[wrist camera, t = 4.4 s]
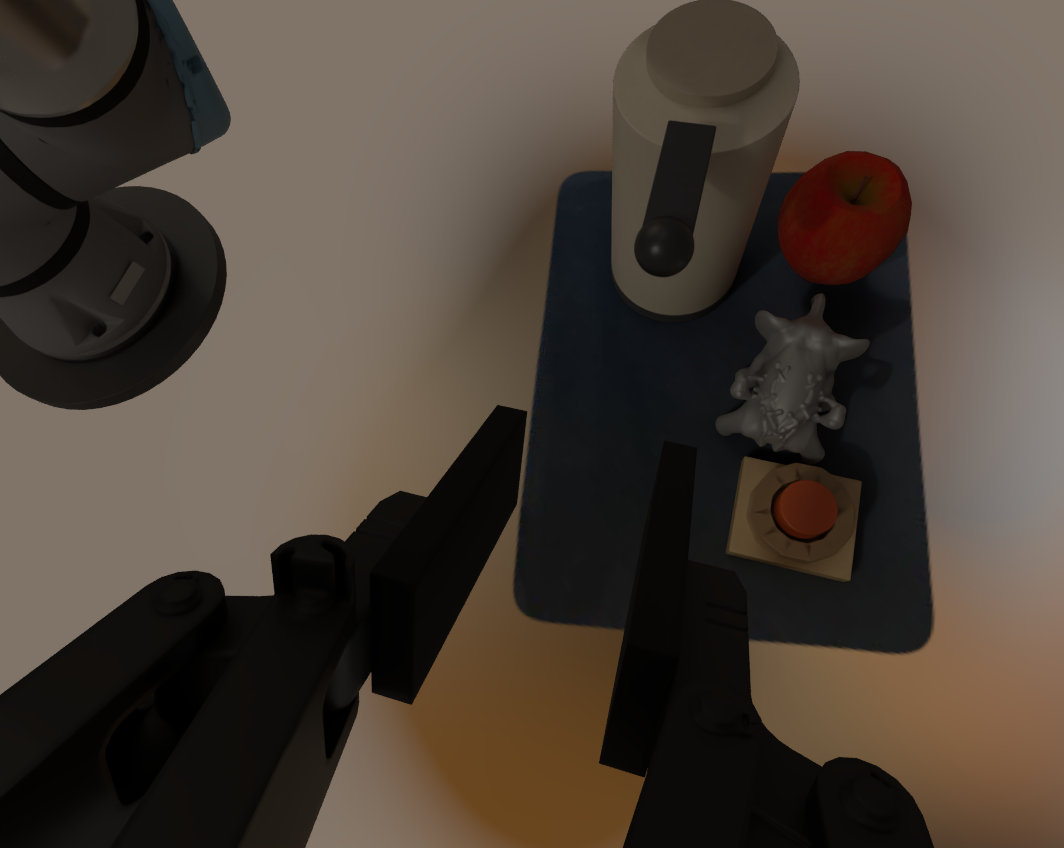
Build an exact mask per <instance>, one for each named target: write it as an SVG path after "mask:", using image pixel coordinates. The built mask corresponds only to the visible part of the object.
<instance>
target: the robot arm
mask: <svg viewBox="0 0 1064 848" xmlns="http://www.w3.org/2000/svg"><path fill="white" fill-rule="evenodd" d="M230 121H231V117H230V112H229V110H228V107H227V105H226V103H225V101H224V99H223V97H222V95H221V93H220V91H219V89H218V87H217V85H216V83H215V81H214V79H213V77H212V75H211V73H210V71H209V69H208V67H207V65H206V63H205V61H204V59H203V58H202V55H201V54H200V52H199V50H198V48H197V46H196V44H195V42H194V40H193V38H192V36H191V34H190V32H189V31H188V28H187V27H186V25H185V23H184V21H183V19H182V17H181V15H180V13H179V11H178V10H177V8H176V6H175V4H174V2H173V0H0V318H1V319H2V320H3V321H4V322H5V324H6V325H7V326H8V327H9V328H10V329H11V330H12V331H13V332H14V334H15V335H16V336H17V337H18V338H19V339H21V340H22V341H23V342H24V343H26V344H27V345H28V346H29V347H31V348H33V349H34V350H36V351H38V352H40V353H42V354H44V355H46V356H48V357H50V358H52V359H55V360H58V361H61V362H67V363H88V362H94V361H99V360H102V359H105V358H108V357H111V356H113V355H116V354H118V353H120V352H122V351H124V350H125V349H127V348H129V347H130V346H132V345H133V344H134V343H136V342H137V341H139V340H140V339H141V338H142V337H143V336H145V335H146V334H147V333H148V332H149V331H150V330H151V329H152V328H153V326H154V325H155V324H156V323H157V322H158V320H159V319H160V318H161V317H162V315H163V313H164V312H165V310H166V309H167V307H168V305H169V303H170V301H171V298H172V296H173V293H174V290H175V286H176V282H177V259H176V255H175V252H174V249H173V247H172V245H171V243H170V242H169V240H168V239H167V238H166V237H165V235H164V234H163V233H162V232H161V231H159V230H158V229H157V228H156V227H155V226H154V225H153V224H152V223H151V222H149V221H148V220H147V219H145V218H144V217H142V216H140V215H138V214H137V213H135V212H133V211H131V210H128V209H126V208H124V207H122V206H119V205H117V204H115V203H112V202H110V201H108V200H105V199H103V198H101V197H99V196H98V195H100V194H102V193H104V192H107V191H109V190H111V189H113V188H115V187H117V186H119V185H121V184H123V183H125V182H128V181H130V180H132V179H134V178H136V177H139V176H141V175H143V174H145V173H147V172H149V171H151V170H154V169H156V168H158V167H160V166H162V165H164V164H166V163H169V162H171V161H173V160H175V159H178V158H180V157H182V156H184V155H187V154H189V153H190V154H195V153H197V152H199V150H200V149H201V147H202V146H204V145H206V144H208V143H210V142H212V141H213V140H215V139H217V138H219V137H221V136H222V135H224V134H225V133H226V132H227V130H228V128H229V126H230ZM526 418H527V411H523V410H519V409H514V408H509V407H505V406H500V405H497V406H496V408H495V409H494V410H493V412H492V413H491V414H490V416H489V417H488V418H487V419H486V421H485V422H484V423H483V425H482V426H481V427H480V429H479V430H478V431H477V433H476V434H475V435H474V437H473V438H472V439H471V441H470V442H469V443H468V444H467V446H466V447H465V448H464V450H463V451H462V452H461V454H460V455H459V457H457V459H456V460H455V461H454V463H453V464H452V465H451V467H450V468H449V469H448V471H447V472H446V473H445V475H444V476H443V477H442V478H441V480H440V481H439V482H438V484H437V485H436V486H435V488H434V489H433V490H432V492H431V493H430V494H429V496H428V497H423V496H419V495H415V494H411V493H407V492H403V491H399V492H397V493H395V494H393V495H391V496H390V497H388V498H386V499H384V500H382V501H380V502H379V503H378V505H377V506H376V507H375V508H374V509H373V510H372V511H371V512H370V513H369V515H368V516H367V519H364V520H363V522H362V523H361V524H360V525H359V526H358V527H357V529H356V532H353V533H352V534H351V535H350V536H349V538H348V539H347V540H346V541H345V542H344V541H343V540H341V539H339V538H336V537H332V536H329V535H307V536H302V537H298V538H294V539H292V540H290V541H288V542H286V543H284V544H281V545H280V546H279V547H278V548H277V549H276V550H275V551H274V552H272V553H271V564H272V573H273V583H274V592H275V594H274V595H273V596H225V592H224V588H223V585H222V583H221V581H220V579H218V578H216V577H215V576H213V575H212V574H210V573H205V572H199V571H186V572H177V573H174V574H171V575H167V576H164V577H161V578H159V579H157V580H156V581H154V582H152V583H150V584H149V585H147V586H145V587H144V588H143V589H141V590H140V591H139V592H137V593H136V594H135V595H133V596H132V597H131V598H129V599H128V600H127V601H125V602H124V603H123V604H121V605H120V606H119V607H117V608H116V609H114V610H113V611H112V612H111V613H109V614H108V615H106V616H105V617H104V618H102V619H101V620H100V621H98V622H97V623H96V624H94V625H93V626H92V627H90V628H89V629H88V630H87V631H85V632H84V633H82V634H81V635H80V636H78V637H77V638H76V639H74V640H73V641H72V642H70V643H69V644H68V645H66V646H65V647H64V648H62V649H61V650H60V651H58V652H57V653H56V654H54V655H53V656H52V657H50V658H49V659H48V660H46V661H45V662H44V663H42V664H41V665H40V666H38V667H37V668H36V669H34V670H33V671H31V672H30V673H29V674H28V675H26V676H25V677H23V678H22V679H21V680H20V681H18V682H17V683H16V684H14V685H13V686H11V687H10V688H9V689H7V690H6V691H5V692H3V693H2V694H1V695H0V848H305V847H306V844H307V842H308V839H309V837H310V834H311V831H312V829H313V826H314V823H315V821H316V819H317V816H318V813H319V811H320V808H321V806H322V803H323V801H324V798H325V795H326V793H327V790H328V788H329V785H330V783H331V780H332V777H333V775H334V772H335V770H336V767H337V765H338V762H339V759H340V757H341V755H342V752H343V749H344V747H345V744H346V742H347V739H348V736H349V734H350V731H351V729H352V726H353V724H354V721H355V719H356V716H357V712H358V706H359V690H360V689H361V687H362V685H363V684H364V682H365V681H366V679H367V678H368V676H369V674H370V673H372V693H375V694H378V695H382V696H385V697H388V698H392V699H394V700H398V701H401V702H404V703H407V704H411V705H412V703H413V701H414V699H415V697H416V696H417V694H418V692H419V690H420V688H421V686H422V684H423V682H424V680H425V678H426V676H427V674H428V672H429V671H430V669H431V667H432V665H433V663H434V661H435V659H436V657H437V655H438V653H439V652H440V650H441V648H442V646H443V644H444V642H445V640H446V638H447V636H448V634H449V632H450V631H451V629H452V627H453V625H454V623H455V621H456V619H457V617H458V615H459V613H460V612H461V610H462V608H463V606H464V604H465V602H466V600H467V598H468V596H469V594H470V592H471V590H472V589H473V587H474V585H475V583H476V581H477V579H478V577H479V575H480V573H481V571H482V570H483V568H484V566H485V564H486V562H487V560H488V558H489V556H490V554H491V552H492V550H493V548H494V547H495V545H496V543H497V541H498V539H499V537H500V535H501V533H502V531H503V529H504V527H505V525H506V524H507V522H508V520H509V518H510V516H511V514H512V512H513V510H514V508H515V507H516V505H517V499H518V490H519V481H520V472H521V463H522V454H523V444H524V435H525V427H526ZM696 453H697V448H696V447H692V446H687V445H682V444H678V443H673V442H668V441H664V444H663V448H662V453H661V457H660V462H659V466H658V470H657V475H656V479H655V484H654V488H653V492H652V497H651V501H650V506H649V510H648V514H647V519H646V523H645V528H644V532H643V537H642V542H641V547H640V552H639V558H638V563H637V568H636V573H635V578H634V584H633V589H632V594H631V599H630V604H629V610H628V615H627V620H626V625H625V631H624V636H623V642H622V646H621V652H620V657H619V662H618V667H617V672H616V677H615V683H614V688H613V693H612V698H611V703H610V709H609V714H608V719H607V724H606V729H605V735H604V740H603V745H602V750H601V755H600V761H599V763H600V764H603V765H606V766H610V767H613V768H616V769H619V770H622V771H625V772H629V773H632V774H635V775H638V776H642V777H645V775H646V771H647V775H646V778H645V781H644V784H643V787H642V790H641V793H640V796H639V800H638V803H637V806H636V809H635V812H634V815H633V818H632V821H631V824H630V827H629V830H628V833H627V836H626V839H625V842H624V846H623V848H934V846H933V843H932V840H931V837H930V834H929V831H928V829H927V826H926V823H925V820H924V817H923V815H922V813H921V811H920V809H919V808H918V806H917V804H916V802H915V800H914V798H913V797H912V796H911V795H910V793H909V792H908V791H907V790H906V789H905V788H904V787H903V786H902V785H901V784H900V783H899V781H898V780H896V779H895V778H894V777H892V776H891V775H889V774H888V773H886V772H885V771H884V770H882V769H881V768H879V767H877V766H876V765H873V764H871V763H868V762H866V761H863V760H860V759H858V758H844V757H838V758H835V759H833V760H830V761H828V762H826V763H825V764H824V765H823V767H822V766H820V765H818V764H816V763H815V762H813V761H811V760H810V759H808V758H806V757H804V756H803V755H801V754H799V753H797V752H796V751H794V750H792V749H791V748H789V747H788V746H786V745H785V744H783V743H782V742H781V741H779V740H778V739H777V738H776V737H775V736H774V735H773V734H772V733H771V732H770V731H769V730H768V729H767V728H766V727H765V726H764V724H763V723H762V720H761V718H760V716H759V715H758V712H757V710H756V709H755V707H754V705H753V703H752V698H751V689H750V688H751V686H750V666H749V665H750V662H749V639H748V633H747V631H748V616H747V594H746V590H745V589H744V587H743V585H742V583H741V582H740V580H739V578H738V576H737V575H736V573H735V572H734V571H730V570H726V569H722V568H718V567H714V566H710V565H706V564H702V563H698V562H694V561H690V560H688V550H689V538H690V526H691V514H692V502H693V490H694V478H695V466H696ZM647 768H648V769H647Z"/></svg>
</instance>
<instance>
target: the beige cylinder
mask: <svg viewBox="0 0 1064 848" xmlns="http://www.w3.org/2000/svg"><path fill="white" fill-rule="evenodd" d="M799 82H800V81H799V71H798V67H797V63H796V60H795V58H794V56H793V54H792V52H791V51H790V49H789V48H788V46H787V45H786V44H785V42H784V41H782V39H781V38H780V37H779V36H778V35H776V32H775V30H774V28H773V26H772V24H771V23H770V22H769V21H768V19H767V18H766V17H765V16H764V15H762V14H761V13H760V12H759V11H757V10H756V9H754V8H752V7H750V6H748V5H746V4H743V3H740V2H736V1H732V0H698V1H694V2H690V3H687V4H684V5H682V6H680V7H678V8H675V9H674V10H672V11H670V12H669V13H667V14H666V15H665V16H664V17H663V18H661V20H659V22H658V23H657V24H656V25H654V26H652V27H651V28H649V29H648V30H646V31H644V32H643V33H642V34H641V35H639V36H638V37H637V38H636V39H635V40H634V41H633V42H632V43H631V44H630V45H629V46H628V47H627V49H626V50H625V51H624V53H623V54H622V56H621V58H620V60H619V62H618V64H617V67H616V70H615V74H614V79H613V157H612V158H613V159H612V162H613V163H612V164H613V165H612V270H611V272H612V279H613V283H614V286H615V288H616V290H617V292H618V294H619V296H620V297H621V299H622V300H623V301H624V302H625V303H626V304H627V305H628V306H629V307H630V308H631V309H633V310H634V311H636V312H637V313H639V314H641V315H643V316H645V317H647V318H650V319H653V320H657V321H661V322H685V321H690V320H694V319H696V318H699V317H702V316H704V315H706V314H708V313H709V312H711V311H712V310H714V309H715V308H716V307H717V306H718V305H720V304H721V303H722V301H723V300H724V299H725V298H726V296H727V295H728V293H729V291H730V289H731V287H732V285H733V282H734V279H735V276H736V273H737V270H738V267H739V264H740V261H741V259H742V256H743V253H744V250H745V247H746V244H747V241H748V238H749V235H750V232H751V230H752V227H753V224H754V221H755V218H756V215H757V212H758V209H759V206H760V203H761V201H762V198H763V195H764V192H765V189H766V186H767V183H768V180H769V177H770V175H771V172H772V169H773V166H774V163H775V160H776V157H777V154H778V151H779V148H780V146H781V143H782V140H783V137H784V134H785V131H786V128H787V125H788V122H789V119H790V117H791V114H792V111H793V108H794V105H795V102H796V99H797V95H798V91H799ZM669 120H672V121H680V122H688V123H697V124H705V125H713V126H716V133H715V138H714V142H713V147H712V151H711V156H710V160H709V165H708V170H707V174H706V179H705V183H704V188H703V192H702V197H701V201H700V206H699V211H698V215H697V220H696V224H695V229H694V233H693V237H694V253H693V256H692V259H691V261H690V262H689V264H688V265H687V266H686V267H685V268H684V269H683V270H682V271H681V272H679V273H678V274H676V275H673V276H670V277H655V276H652V275H650V274H648V273H647V272H645V271H644V270H643V269H642V268H641V267H640V265H639V264H638V262H637V260H636V257H635V253H634V244H635V239H636V236H637V234H638V232H639V231H640V229H641V228H642V225H643V221H644V217H645V213H646V209H647V205H648V201H649V197H650V193H651V189H652V185H653V181H654V177H655V173H656V168H657V164H658V160H659V156H660V152H661V148H662V144H663V140H664V136H665V132H666V128H667V124H668V121H669Z"/></svg>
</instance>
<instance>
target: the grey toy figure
mask: <svg viewBox="0 0 1064 848" xmlns="http://www.w3.org/2000/svg"><path fill="white" fill-rule="evenodd" d="M825 300H826V299H825V296H824V294H817V295H815V296H814V297H813V298H812V299H811V305H812V308H811V311H810V313H809V314H808V315H806V316H805V317H802V318H798V319H795V320H788V319H786V318H780V317H775V316H773V315H772V314H770V313H769V312H767V311H765V310H761V311H759V312H758V313H757V314H756V317H755V325H756V328H757V330H758V331H759V332H760V334H761V335H762V336H763V337H764V338H765V339H766V340H767V344H766V345H765V346H764V349H763V350H762V351H761V353H759V354H758V355H757V356H756V357H755V359H754V360H753V362H752V364H751V365H750V367H746V368H742V369H740V370H738V371H737V373H736V375H735V381H734V383H733V384H732V386H731V388H730V393H731V395H732V396H733V397H734V398H737V399H741V400H747V401H746V402H745V403H744V404H743V405H742V406H741V407H740V408H739V409H738V410H736V411H734V412H731V413H729V414H725V415H721V416H719V417H718V418H717V420H716V428H717V431H718V432H719V433H720V434H721V435H723V436H729V435H731V434H732V433H741V434H743V435H744V436H746V437H750V438H753V439H754V440H755V441H756V443H757V444H758V445H759V446H760V447H762V446H764V445H766V444H767V443H769V444H772V449H773V450H774V451H775V452H778V451H781V450H784V449H786V450H789V451H791V452H794V453H800V454H801V459H802V461H803V462H804V463H806V464H815V463H817V462H819V461H821V460H822V459H823V458H824V455H825V451H824V449H823V447H822V446H821V443H820V441H819V439H818V435H817V425H816V423H819V422H820V423H821V424H822V425H824V426H826V427H828V428H830V429H834V430H836V429H839V428H841V427H842V426H843V424H844V420H845V414H846V408H845V407H844V406H843V405H841V404H839V403H837V402H836V401H835V398H834V396H833V395H832V394H831V393H832V388H833V385H834V372H835V370H836V369H837V367H838V365H839V363H840V362H842V361H846V360H850V359H854V358H857V357H859V356H860V355H862V354H863V353H864V352H865V351H866V350H867V348H868V347H869V344H870V343H869V340H867V339H853V338H850V337H848V336H846V335H841V334H836V333H835V332H833V331H832V330H831V328H830V327H829V326H828V325H827V324H826V323H825V322H824V320H823V318H822V314H823V310H824V308H825ZM752 387H754V388H753V391H752V394H751V393H750V391H749V389H748V388H752ZM827 411H830V412H829V413H828V414H825V415H822V416H819V415H818V412H827Z"/></svg>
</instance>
